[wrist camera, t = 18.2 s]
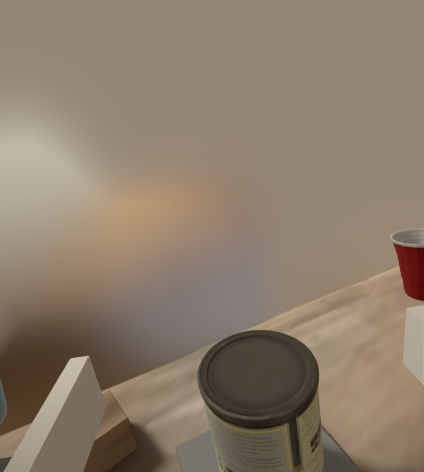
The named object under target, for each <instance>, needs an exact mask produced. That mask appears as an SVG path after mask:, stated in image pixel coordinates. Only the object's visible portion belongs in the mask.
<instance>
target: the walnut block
mask: <svg viewBox="0 0 424 472" xmlns="http://www.w3.org/2000/svg"><path fill="white" fill-rule="evenodd" d="M102 396H103V399H104V401H105V404H106V409H105V412H104V415H103V417H102V420H101V423H100V426H99V429H98V431H97V434H96V437H95V440H94V443H93V446H92V448H91V451H90V454H89V457H88V460H87V463H86V465H85V468H84V471H83V472H107V471H108V470H109V469H111V468H112V467H113V466H115V465H116V464H117V463H118V462H120V461H121V460H122V459H123V458H125V457H126V456H127V455H129V454H130V453H131V452H132V451H134V450H135V449H136V448H137V444H136V440H135V437H134V434H133V431H132V428H131V425H130V422H129V419H128V417H127V415H126V414H125V412H124V411H123V409H122V408H121V406H120V405H119V403H118V402H117V400H116V399H115V397H114V396H113V394H112V393H111V391H110V390H109V391H107V392H106V393H104V394H102Z"/></svg>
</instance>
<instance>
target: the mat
mask: <svg viewBox="0 0 424 472" xmlns="http://www.w3.org/2000/svg"><path fill="white" fill-rule="evenodd" d="M321 431H322V443H323V455H324V468H325V472H360V471H359V469H358V468H357V467H356V466H355V465H354V464H353V463H352V461H351V460H350V459H349V458H348V457H347V456H346V454H345V453H344V452H343V451H342V450H341V449H340V448H339V446H338V445H337V444H336V443H335V442H334V441H333V439H332V438H331V437H330V436H329V435H328V434H327V433H326V431H325V430H324V429H323V428H322V427H321ZM176 451H177V454H178V458H179V461H180V464H181V468H182V471H183V472H220V469H219V465H218V461H217V456H216V452H215V448H214V444H213V439H212V435H211V431H210V430H209V431H207V432H205V433H203V434H201V435H199V436H197V437H195V438H193V439H191V440H189V441H187V442H185V443H183V444H181V445H179V446H177V447H176Z"/></svg>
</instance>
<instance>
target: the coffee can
mask: <svg viewBox="0 0 424 472" xmlns="http://www.w3.org/2000/svg"><path fill="white" fill-rule="evenodd" d="M197 379H198V386H199V389H200V393H201V395H202V397H203V400H204V405H205V409H206V413H207V418H208V422H209V426H210V431H211V435H212V439H213V444H214V448H215V452H216V456H217V461H218V465H219V469H220V472H325V468H324V455H323V443H322V431H321V418H320V406H319V394H318V383H319V369H318V365H317V362H316V359H315V357H314V355H313V354H312V352H311V351H310V350H309V349H308V348H307V347H306V346H305V345H304V344H303V343H302V342H300V341H298V340H297V339H295V338H293V337H291V336H289V335H286V334H283V333H280V332H276V331H269V330H252V331H246V332H241V333H237V334H234V335H232V336H229V337H227V338H225V339H223V340H221V341H220V342H218V343H217V344H216V345H214V346H213V347H212V348H211V349H210V350H209V351H208V352H207V353H206V355H205V356H204V357H203V359H202V361H201V363H200V366H199V369H198V378H197Z"/></svg>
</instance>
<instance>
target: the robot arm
mask: <svg viewBox="0 0 424 472" xmlns="http://www.w3.org/2000/svg"><path fill="white" fill-rule="evenodd" d="M403 363H404V364H405V365H406V366H407V368H408V369H409V370H410V371H411V372H412V373H413V374H414V375H415V376H416V378H417V379H418V380H419V381H420V382H421V383H422V384H423V385H424V305H423V306H416V307H410V308H406V324H405V341H404V358H403ZM105 409H106V404H105V401H104V399H103V396H102V393H101V390H100V387H99V384H98V381H97V378H96V375H95V373H94V370H93V367H92V364H91V361H90V358H89V356H85V357H78V358H72V359H70V360H69V362H68V364H67V365H66V367H65V369H64V371H63V372H62V374H61V376H60V377H59V379H58V381H57V382H56V384H55V386H54V387H53V389H52V391H51V392H50V394H49V396H48V398H47V399H46V401H45V403H44V404H43V406H42V408H41V410H40V411H39V413H38V414H37V416H36V418H35V419H34V421H33V423H32V424H31V426H30V428H29V430H28V431H27V433H26V435H25V436H24V438H23V440H22V441H21V443H20V445H19V446H18V448H17V450H16V451H15V453H14V455H13V457H9V458H2V459H0V472H83V471H84V468H85V465H86V463H87V460H88V457H89V454H90V451H91V448H92V446H93V443H94V440H95V437H96V434H97V431H98V429H99V426H100V423H101V420H102V417H103V415H104V412H105ZM6 412H7V406H6V400H5V396H4V392H3V388H2V384H1V380H0V424H1V423H2V421H3V420H4V418H5V416H6Z"/></svg>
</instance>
